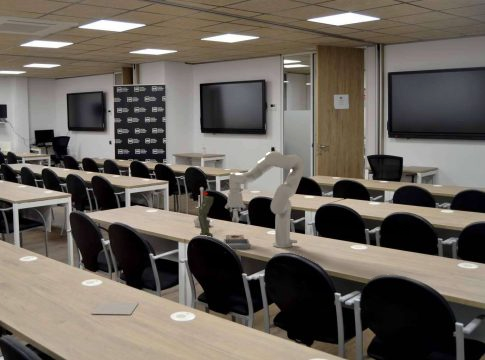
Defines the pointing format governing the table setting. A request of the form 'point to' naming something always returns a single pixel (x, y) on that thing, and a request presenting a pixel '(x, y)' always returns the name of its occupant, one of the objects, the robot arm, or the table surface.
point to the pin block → (235, 237)
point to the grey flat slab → (114, 308)
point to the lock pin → (235, 215)
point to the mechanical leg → (205, 215)
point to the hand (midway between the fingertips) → (235, 217)
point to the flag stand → (201, 204)
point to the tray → (238, 243)
